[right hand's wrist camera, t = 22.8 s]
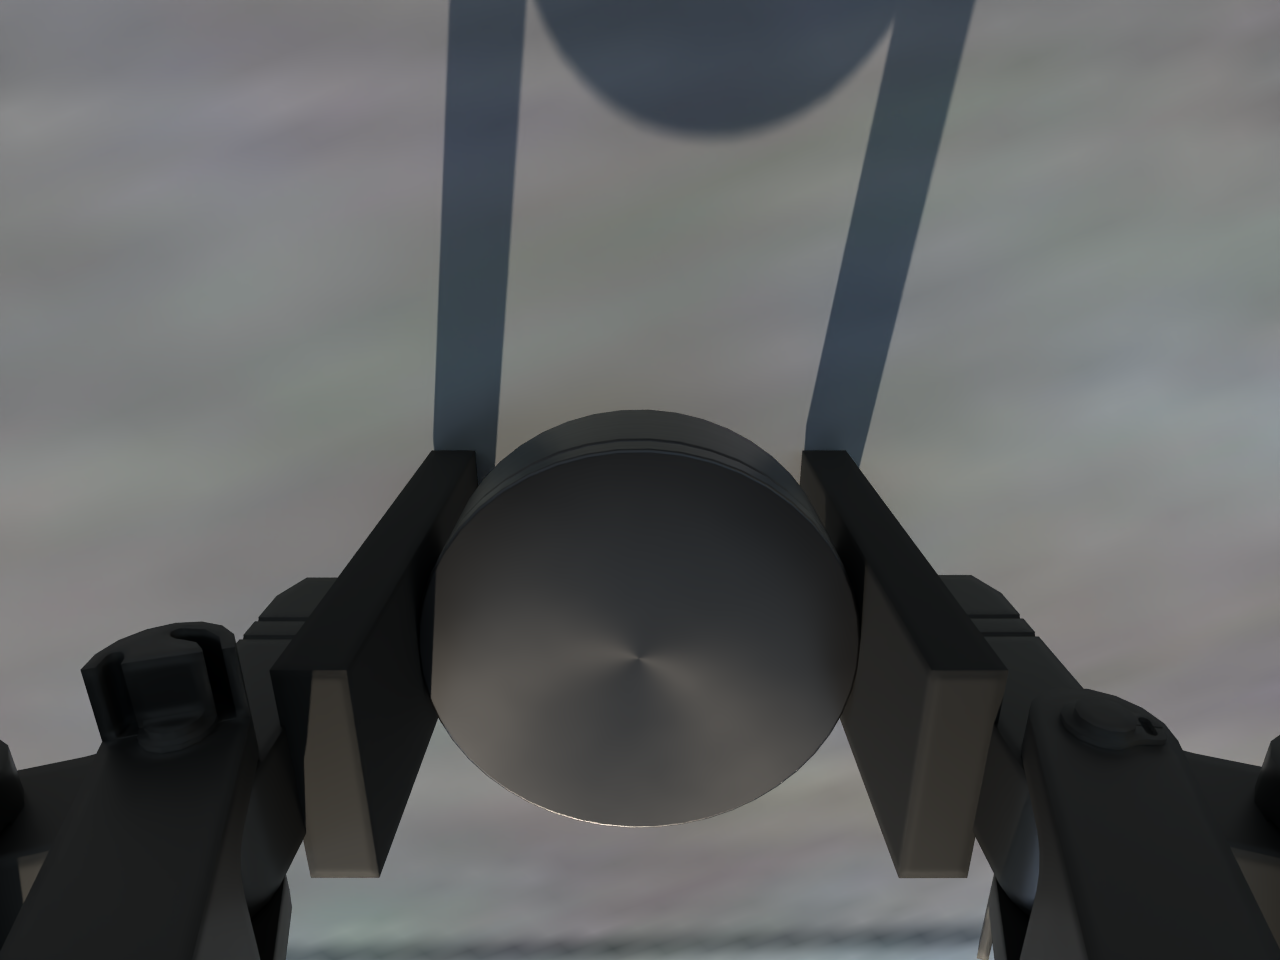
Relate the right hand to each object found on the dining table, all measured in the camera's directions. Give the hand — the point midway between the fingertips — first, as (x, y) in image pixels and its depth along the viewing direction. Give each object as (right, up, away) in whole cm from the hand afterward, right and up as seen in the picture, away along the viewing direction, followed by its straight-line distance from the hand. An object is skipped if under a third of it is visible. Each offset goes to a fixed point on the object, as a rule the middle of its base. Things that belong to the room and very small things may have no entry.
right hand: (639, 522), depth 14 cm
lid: (0, -1, -4) cm, 4 cm away
